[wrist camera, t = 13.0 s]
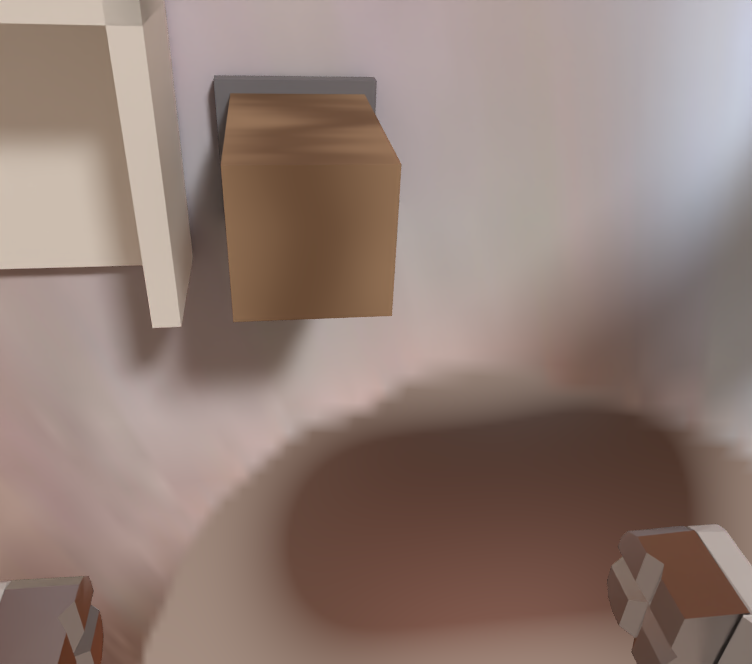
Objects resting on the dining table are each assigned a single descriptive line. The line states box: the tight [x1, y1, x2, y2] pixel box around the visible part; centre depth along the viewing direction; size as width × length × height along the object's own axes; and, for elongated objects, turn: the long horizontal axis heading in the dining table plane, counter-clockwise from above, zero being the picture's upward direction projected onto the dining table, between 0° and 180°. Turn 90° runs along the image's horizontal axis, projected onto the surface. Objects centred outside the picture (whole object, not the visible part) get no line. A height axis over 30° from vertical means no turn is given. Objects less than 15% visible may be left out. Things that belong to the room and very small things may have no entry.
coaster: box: [214, 75, 377, 227], centre depth 27 cm, size 6×6×1 cm
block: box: [221, 93, 401, 322], centre depth 24 cm, size 5×5×8 cm
